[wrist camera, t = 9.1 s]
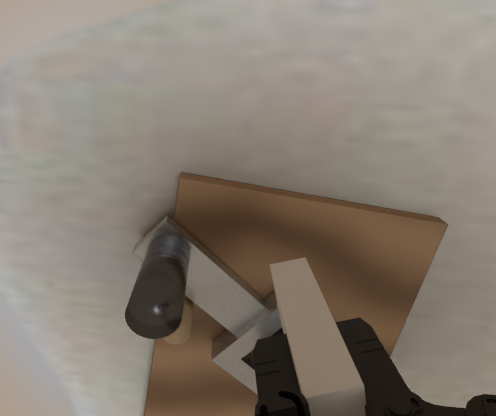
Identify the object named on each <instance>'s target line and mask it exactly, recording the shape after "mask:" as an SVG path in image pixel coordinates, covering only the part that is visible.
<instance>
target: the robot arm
mask: <svg viewBox="0 0 496 416" xmlns="http://www.w3.org/2000/svg"><path fill="white" fill-rule="evenodd" d="M270 269H271V274H272V280H273V285H274V290H275V295H276V300H277V305H278V310H279V315H280V320H281V324H282V328H283V332H284V334H282V335H277V336H272V337H267V338H262V339H257V342H256V344H255V347H254V349H253V360H254V368H255V376H256V385H257V394H258V402H257V404H256V406H255V414H254V415H255V416H496V395H488V394H483V395H479V396H475V397H473V398H472V399H471V400H470V401H468V402H467V406H466V408H456V407H445V406H439V405H434V404H431V403H428V402H426V401H424V400H422V399H421V398H420V397H419V396H418V395H416V394H415V393H413V392H411V391H410V389H409V388H408V387H407V385H406V384H405V382H404V380H403V379H402V377H401V375H400V374H399V372H398V370H397V369H396V367H395V365H394V363H393V362H392V360H391V358H390V357H389V355H388V353H387V352H386V350H385V349H384V347H383V345H382V343H381V341H380V340H379V339H378V336H377V335H376V333H375V331H374V330H373V328H372V326H371V325H369V324H368V323H367V322H365V321H364V320H362V319H361V318H360V317H359V318H354V319H349V320H344V321H339V322H335V321H334V319H333V316H332V314H331V312H330V310H329V308H328V305H327V303H326V301H325V299H324V297H323V294H322V292H321V290H320V288H319V286H318V283H317V281H316V279H315V277H314V275H313V273H312V270H311V268H310V266H309V264H308V262H307V259H306V257H304V258H299V259H294V260H290V261H285V262H280V263H275V264H270Z"/></svg>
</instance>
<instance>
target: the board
mask: <svg viewBox="0 0 496 416" xmlns="http://www.w3.org/2000/svg"><path fill="white" fill-rule="evenodd" d="M174 220H175V221H176V222H177V223H178V224H180V225H181V226H182V227H183V228H184V229H185V230H186V231H187V232H189V233H190V234H191V235H192V236H193V237H194V238H195V239H196V240H198V241H199V242H200V243H201V244H202V245H203V246H204V247H206V248H207V249H208V250H209V251H210V252H211V253H212V254H213V255H215V256H216V257H217V258H218V259H219V260H220V261H221V262H222V263H224V264H225V265H226V266H227V267H228V268H229V269H230V270H232V271H233V272H234V273H235V274H236V275H237V276H238V277H239V278H241V279H242V280H243V281H244V282H245V283H246V284H247V285H248V286H250V287H251V288H252V289H253V290H254V291H255V292H256V293H257V294H259V295H260V296H261V297H262V298H263V299H265V298H266V297H268V296H269V295H270V294H271V293H273V292H274V291H275V290H274V285H273V280H272V274H271V269H270V264H275V263H280V262H285V261H290V260H294V259H299V258H304V257H306V259H307V262H308V264H309V266H310V268H311V270H312V273H313V275H314V277H315V279H316V281H317V283H318V286H319V288H320V290H321V292H322V294H323V297H324V299H325V301H326V303H327V305H328V308H329V310H330V312H331V314H332V316H333V319H334V321H335V322H339V321H344V320H349V319H354V318H359V317H360V318H361V319H362V320H364V321H365V322H367V323H368V324H369V325H371V326H372V328H373V330H374V331H375V333H376V335H377V336H378V339H379V340H380V341H381V343H382V345H383V347H384V349H385V350H386V352H387V353H388V355H389V357H390V355H391V353H392V351H393V349H394V346H395V344H396V342H397V340H398V337H399V335H400V333H401V330H402V328H403V326H404V324H405V321H406V319H407V317H408V315H409V312H410V310H411V308H412V306H413V303H414V301H415V299H416V296H417V294H418V292H419V290H420V287H421V285H422V283H423V281H424V278H425V276H426V274H427V272H428V269H429V267H430V265H431V262H432V260H433V258H434V256H435V253H436V251H437V249H438V247H439V244H440V242H441V240H442V238H443V235H444V233H445V231H446V228H447V226H448V224H447V223H445V222H444V221H443V220H441V219H440V218H438V217H433V216H427V215H422V214H416V213H410V212H405V211H399V210H393V209H388V208H382V207H376V206H370V205H365V204H359V203H353V202H348V201H342V200H336V199H331V198H325V197H319V196H314V195H308V194H302V193H296V192H291V191H285V190H279V189H274V188H268V187H262V186H257V185H251V184H245V183H240V182H234V181H228V180H222V179H217V178H211V177H205V176H200V175H194V174H188V173H183V172H182V173H181V176H180V181H179V188H178V194H177V201H176V208H175V214H174ZM225 330H227V329H226V328H225V327H224V326H223V325H221V324H220V323H219V322H218V321H217V320H215V319H214V318H213V317H212V316H210V315H209V314H208V313H207V312H205V311H204V310H203V309H202V308H200V307H199V306H198V305H197V304H195V303H194V302H193V301H192V300H190V299H189V298H188V297H187V296H185V299H184V307H183V314H182V321H181V324H180V326H179V328H178V329H177V330H176V331H175V332H174V333H172V334H171V335H169V336H167V337H163V338H158V339H156V341H155V348H154V355H153V361H152V368H151V375H150V381H149V388H148V395H147V401H146V408H145V415H144V416H255V415H254V414H255V406H256V404H257V402H258V395H257V394H256V393H255V392H253V391H252V390H251V389H249V388H248V387H247V386H245V385H244V384H243V383H241V382H240V381H239V380H237V379H236V378H235V377H233V376H232V375H231V374H229V373H228V372H227V371H225V370H224V369H223V368H221V367H220V366H219V365H217V364H216V363H215V362H213V361H212V341H213V340H214V339H215V338H217V337H218V336H219V335H220V334H222V333H223V332H224V331H225ZM282 334H284V332H283V328H280V329H279V330H278V331H277V332H275V333H274V334H273V335H271V336H270V337H272V336H277V335H282ZM252 352H253V350H252Z"/></svg>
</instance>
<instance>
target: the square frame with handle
mask: <svg viewBox="0 0 496 416" xmlns="http://www.w3.org/2000/svg"><path fill="white" fill-rule="evenodd" d="M132 253H133V254H135V255H136V256H137V257H138V258H140V259H141V260H142V261H143V263H142V266H141V269H140V272H139V275H138V277H137V280H136V283H135V286H134V289H133V291H132V294H131V297H130V300H129V303H128V305H127V308H126V312H125V319H126V322H127V324H128V326H129V327H130V329H131V330H132V331H134V332H135V333H136V334H138V335H140V336H142V337H145V338H151V339H158V338H163V337H167V336H169V335H171V334H172V333H174V332H175V331H176V330H177V329H178V328H179V326H180V324H181V321H182V314H183V307H184V299H185V296H187V297H188V298H189V299H190V300H192V301H193V302H194V303H195V304H197V305H198V306H199V307H200V308H202V309H203V310H204V311H205V312H207V313H208V314H209V315H210V316H212V317H213V318H214V319H215V320H217V321H218V322H219V323H220V324H221V325H223V326H224V327H225V328H226V329H227V330H225V331H224V332H223V333H222V334H220V335H219V336H218V337H217V338H215V339H214V340H213V341H212V361H213V362H215V363H216V364H217V365H219V366H220V367H221V368H223V369H224V370H225V371H227V372H228V373H229V374H231V375H232V376H233V377H235V378H236V379H237V380H239V381H240V382H241V383H243V384H244V385H245V386H247V387H248V388H249V389H251V390H252V391H253V392H255V393H256V394H257V385H256V376H255V368H254V360H253V352H252V350H253V349H254V347H255V344H256V342H257V339H262V338H267V337H270V336H271V335H273V334H274V333H275V332H277V331H278V330H279V329H280V328H282V324H281V320H280V315H279V310H278V305H277V300H276V295H275V291H274V292H273V293H271V294H270V295H269V296H268V297H266V298H265V299H263V298H262V297H261V296H260V295H259V294H257V293H256V292H255V291H254V290H253V289H252V288H251V287H250V286H248V285H247V284H246V283H245V282H244V281H243V280H242V279H241V278H239V277H238V276H237V275H236V274H235V273H234V272H233V271H232V270H230V269H229V268H228V267H227V266H226V265H225V264H224V263H222V262H221V261H220V260H219V259H218V258H217V257H216V256H215V255H213V254H212V253H211V252H210V251H209V250H208V249H207V248H206V247H204V246H203V245H202V244H201V243H200V242H199V241H198V240H196V239H195V238H194V237H193V236H192V235H191V234H190V233H189V232H187V231H186V230H185V229H184V228H183V227H182V226H181V225H180V224H178V223H177V222H176V221H175V220H174V219H173V218H172V217H170V216H169V215H167V216H166V217H165V218H164V219H163V220H162V221H161V222H160V223H159V224H158V225H157V226H156V227H154V228H153V229H152V230H151V231H150V232H149V233H148V234H147V235H146V236H145V237H144V238H143V239H142V240H140V241H139V242H138V243H137V244H136V245H135V248H134V250H133V252H132ZM257 395H258V394H257Z"/></svg>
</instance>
